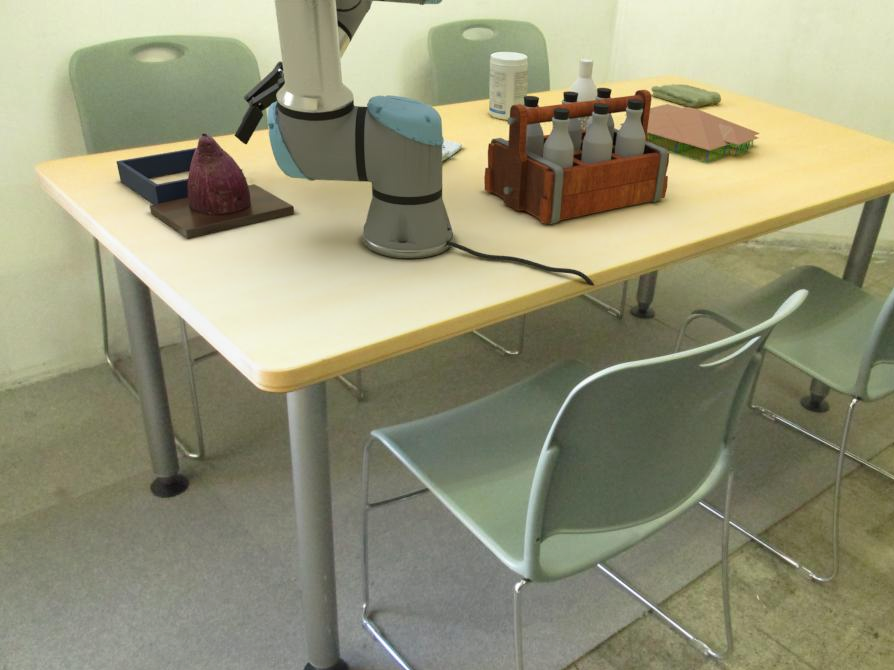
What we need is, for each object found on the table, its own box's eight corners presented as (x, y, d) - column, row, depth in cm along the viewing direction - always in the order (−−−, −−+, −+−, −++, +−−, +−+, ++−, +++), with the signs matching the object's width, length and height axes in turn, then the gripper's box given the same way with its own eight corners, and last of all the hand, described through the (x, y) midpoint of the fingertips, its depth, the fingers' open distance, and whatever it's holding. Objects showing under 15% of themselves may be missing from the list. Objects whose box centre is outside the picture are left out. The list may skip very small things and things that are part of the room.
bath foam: (586, 157, 193) (596, 65, 182) (558, 151, 195) (566, 60, 184) (597, 149, 198) (606, 59, 187) (570, 144, 200) (577, 55, 189)
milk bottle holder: (674, 199, 173) (689, 102, 162) (536, 229, 155) (543, 121, 144) (607, 169, 187) (617, 77, 176) (473, 193, 168) (476, 92, 158)
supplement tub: (521, 111, 223) (524, 51, 215) (529, 121, 215) (532, 59, 207) (485, 110, 221) (487, 50, 213) (491, 120, 213) (493, 59, 205)
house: (717, 167, 193) (724, 131, 188) (604, 133, 210) (607, 99, 206) (766, 149, 208) (773, 115, 203) (656, 118, 225) (660, 86, 221)
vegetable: (235, 233, 148) (223, 159, 137) (179, 218, 149) (163, 143, 137) (262, 200, 155) (253, 127, 144) (209, 186, 156) (196, 112, 144)
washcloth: (677, 90, 254) (679, 79, 252) (722, 105, 243) (725, 93, 241) (647, 95, 247) (648, 83, 245) (692, 110, 236) (694, 98, 234)
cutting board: (294, 213, 153) (293, 205, 152) (187, 238, 141) (186, 230, 140) (255, 191, 161) (254, 183, 160) (151, 213, 149) (149, 205, 148)
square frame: (244, 190, 161) (242, 169, 159) (159, 208, 151) (154, 186, 149) (203, 166, 171) (200, 146, 169) (120, 181, 161) (116, 161, 159)
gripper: (381, 76, 154) (326, 176, 152) (286, 50, 165) (233, 144, 163) (359, 49, 147) (301, 153, 145) (261, 24, 158) (206, 121, 156)
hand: (265, 148), depth 154 cm, fingers open, 13 cm apart
